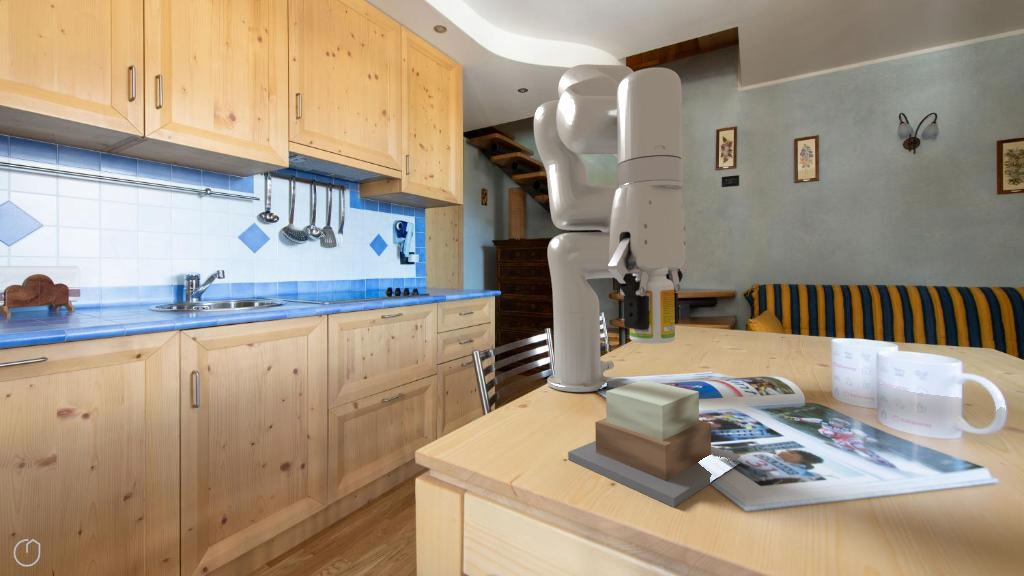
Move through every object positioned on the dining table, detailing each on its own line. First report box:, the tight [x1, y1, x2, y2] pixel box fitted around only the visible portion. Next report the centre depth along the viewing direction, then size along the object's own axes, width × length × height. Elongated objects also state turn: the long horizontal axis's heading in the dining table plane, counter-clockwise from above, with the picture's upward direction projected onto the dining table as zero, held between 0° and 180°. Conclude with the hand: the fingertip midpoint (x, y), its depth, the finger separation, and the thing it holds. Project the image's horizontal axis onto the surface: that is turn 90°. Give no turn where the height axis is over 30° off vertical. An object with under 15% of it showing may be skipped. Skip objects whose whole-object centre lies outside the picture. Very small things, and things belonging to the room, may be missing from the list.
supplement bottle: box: [629, 265, 676, 345], centre depth 54 cm, size 5×5×10 cm
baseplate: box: [567, 440, 741, 508], centre depth 56 cm, size 15×15×1 cm
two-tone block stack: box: [594, 379, 712, 481], centre depth 55 cm, size 10×10×8 cm
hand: (651, 324), depth 55 cm, fingers closed on supplement bottle, 5 cm apart
